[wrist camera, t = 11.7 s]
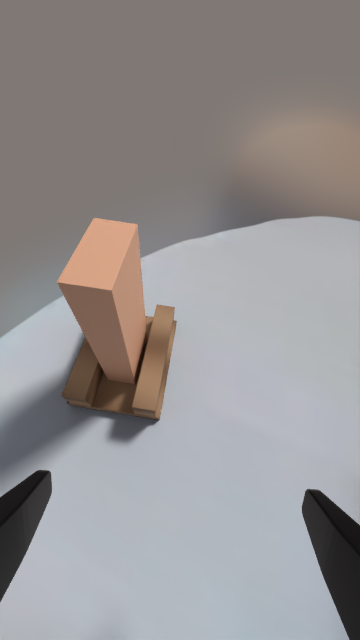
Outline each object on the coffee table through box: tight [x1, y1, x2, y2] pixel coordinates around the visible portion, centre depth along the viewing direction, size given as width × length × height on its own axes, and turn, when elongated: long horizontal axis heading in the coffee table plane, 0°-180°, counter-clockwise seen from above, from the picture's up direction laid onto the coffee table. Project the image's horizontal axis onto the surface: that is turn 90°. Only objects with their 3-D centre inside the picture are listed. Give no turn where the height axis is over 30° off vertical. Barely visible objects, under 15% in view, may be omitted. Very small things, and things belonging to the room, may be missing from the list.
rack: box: [61, 305, 177, 420], centre depth 22 cm, size 10×8×3 cm
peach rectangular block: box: [57, 218, 147, 384], centre depth 17 cm, size 5×2×13 cm, turn 172°
